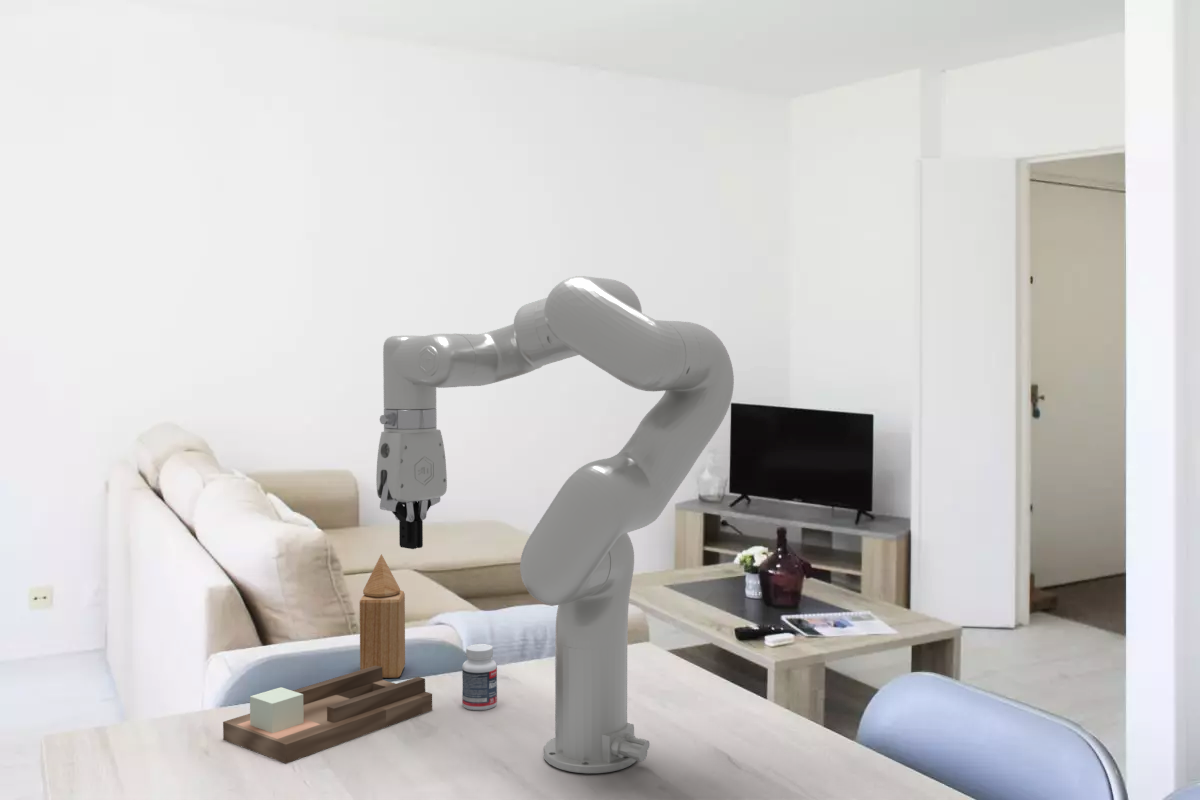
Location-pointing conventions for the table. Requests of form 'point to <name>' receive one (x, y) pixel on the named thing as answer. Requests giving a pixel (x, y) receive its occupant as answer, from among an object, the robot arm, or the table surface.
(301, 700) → the sage block
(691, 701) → the table surface
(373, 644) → the decorative item
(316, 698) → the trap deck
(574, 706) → the robot arm
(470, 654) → the pill bottle
